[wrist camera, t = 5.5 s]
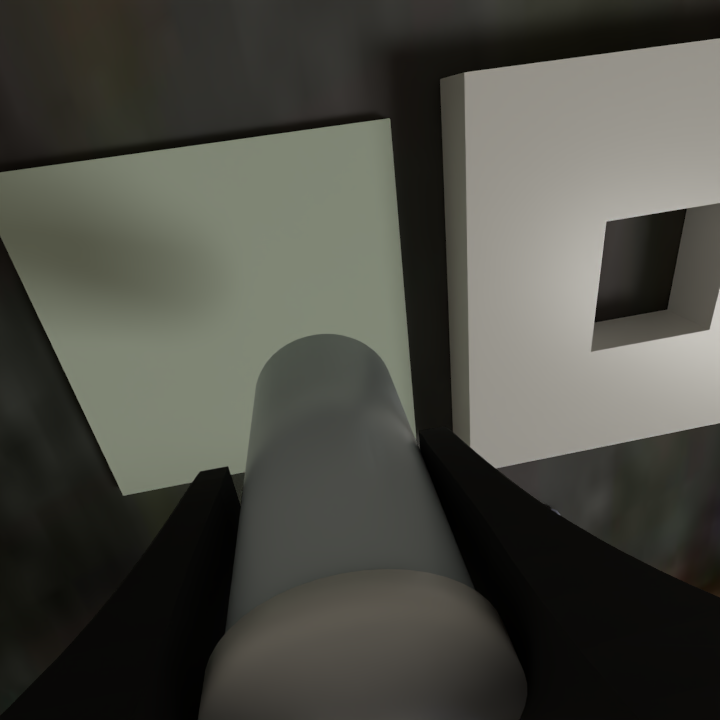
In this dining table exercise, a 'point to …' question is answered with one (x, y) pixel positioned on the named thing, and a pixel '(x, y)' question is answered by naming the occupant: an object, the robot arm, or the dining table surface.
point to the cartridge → (349, 563)
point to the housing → (579, 249)
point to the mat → (206, 282)
